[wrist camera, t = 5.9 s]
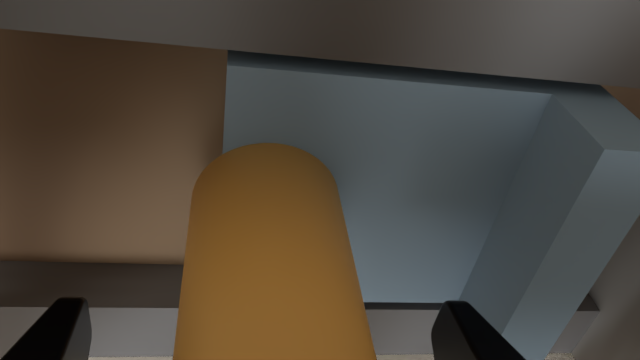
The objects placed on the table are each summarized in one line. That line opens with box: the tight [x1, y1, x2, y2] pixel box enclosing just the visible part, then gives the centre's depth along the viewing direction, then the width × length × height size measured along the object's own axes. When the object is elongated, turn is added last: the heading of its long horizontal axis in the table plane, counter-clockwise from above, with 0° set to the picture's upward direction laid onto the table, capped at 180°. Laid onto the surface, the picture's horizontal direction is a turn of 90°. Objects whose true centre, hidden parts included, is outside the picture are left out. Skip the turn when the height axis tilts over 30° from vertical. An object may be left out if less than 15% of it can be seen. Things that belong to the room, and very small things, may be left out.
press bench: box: [0, 0, 640, 360], centre depth 12 cm, size 22×12×6 cm, turn 81°
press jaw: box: [173, 50, 640, 360], centre depth 10 cm, size 9×6×8 cm
